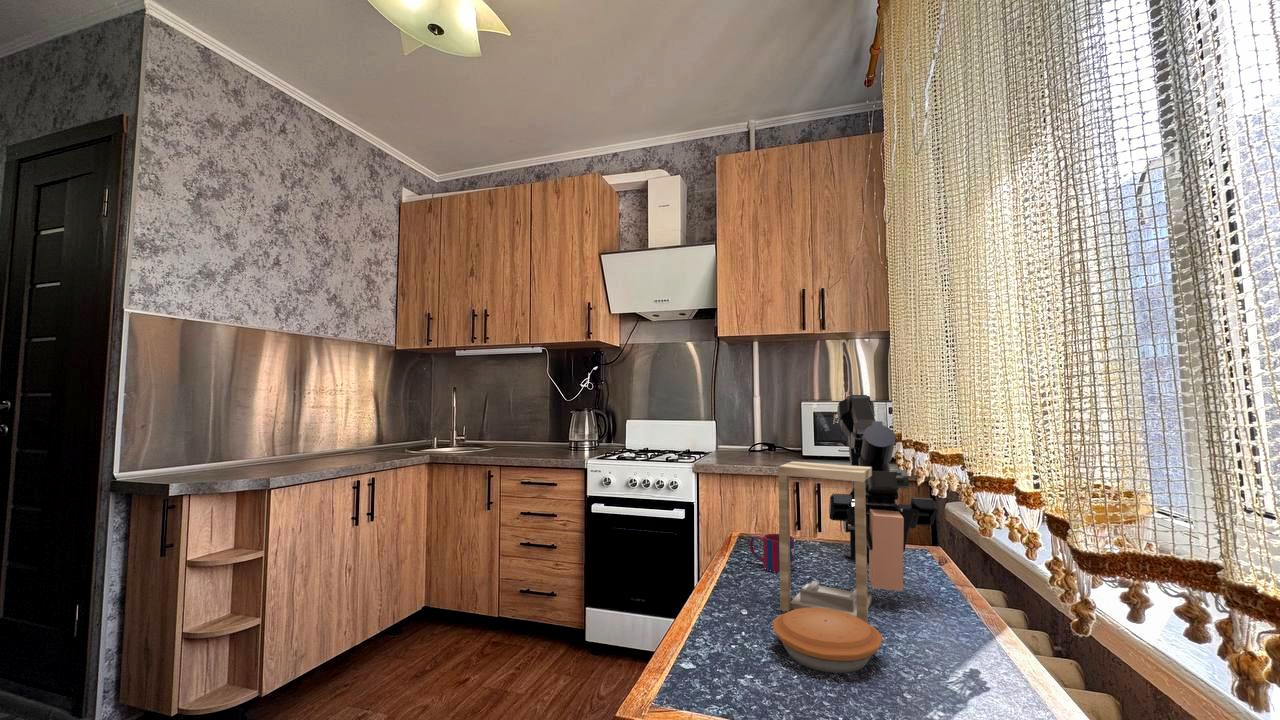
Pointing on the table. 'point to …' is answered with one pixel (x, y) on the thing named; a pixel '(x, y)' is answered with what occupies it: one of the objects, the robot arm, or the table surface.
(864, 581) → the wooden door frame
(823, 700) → the table surface
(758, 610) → the table surface
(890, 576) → the block
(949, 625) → the table surface
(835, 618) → the pie
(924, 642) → the table surface
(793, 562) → the mug
